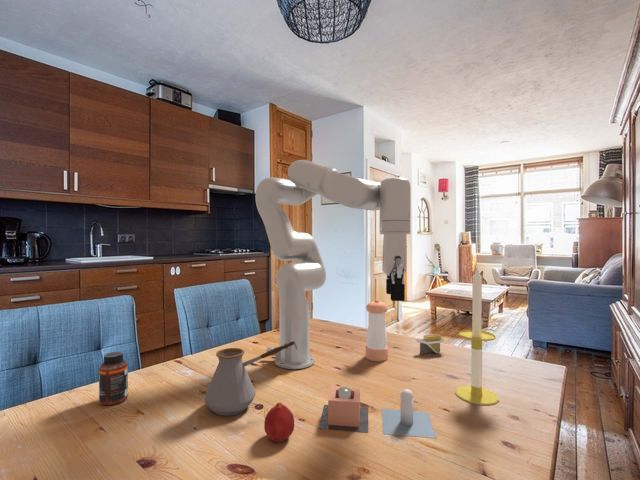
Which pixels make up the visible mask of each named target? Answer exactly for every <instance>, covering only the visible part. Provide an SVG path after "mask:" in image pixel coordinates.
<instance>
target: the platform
mask: <svg viewBox="0 0 640 480" xmlns="http://www.w3.org/2000/svg"><path fill="white" fill-rule="evenodd" d="M416 343H419V354H420V355H421V354H422V353H423V354H429V353H430V354H431V353H436V354H440V352H441V343H445V339H444V338H443V337H442V335H441V334H438V333H436V334H433V335H432V334H426V335H425V334H424V335H423V338H419V339H418V338H417V339H416ZM423 354H422V355H423Z"/></svg>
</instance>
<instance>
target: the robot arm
mask: <svg viewBox="0 0 640 480" xmlns="http://www.w3.org/2000/svg"><path fill="white" fill-rule="evenodd" d="M287 176H288V179H287V178H281V177H273V176H272V177H266V178H264V179H261V181H260V182H259V183H258V185H257V187H256V190H255V198H254V199H255V204H256V209H257V211H258V214H259V215H260V218H261V219H262V222H263V225H264V227H265V232H266V234H267V238H268V241H269V242H268V243H269V245H270V247H271V251H272V254H273V255H274V257H275V259H277V260H279V261H283V262H287V261H295V262H288V263H285V264H283V265H281V266H280V267H279V268H278V270H277V272H276V275H275V281H276V286H277V287H276V288H277V292H278V301H279V305H278V306H279V308H278V309H279V311H278V312H279V314H278V315H279V320H278V321H279V325H278V326H279V330H278V331H279V333H278V335H279V336H278V337H279V346H278V347H280V346H284V344H288V343H290V342H293V341H295V343H296V346H297V349H296V348H295V345H292V346H289V347H288V348H287V349H283V350H281V351H280V352H278V353H276V354H273V355H271V356H274V357H275V358H274V364H275V366H277V367H279V368H282V369H286V370H287V369H288V370H300V369H306V368H308V367H312V366H313V364H314V363H315V357H314V355H313V354H310V325H311V324H310V322H311V321H310V320H311V318H310V303H309V300H308V298H307V296H306V293H305V292H307V291H314V290H318V289H320V288H322V286H324V284H325V282H326V280H327V275H326V274H327V273H326V268H325V265H324V262H323V259H322V256H321V253H320V251H319V248H318V245H317V243H316V241H315V239H314V237H313V236H312V235H311V234H310V233H307V232H304V231H295V230H294V228H293V226H292V223H291V220H290V217H289V216H288V214H287V213H286V211H285V210H284V209H283V208H282V207H281V205H284V206H285V205H287V206H296V207H297V206H301V205H303V204H305V203H306V202H308V201H309V200H311V199H312V198H314V197H316V196H317V195H320V196H322V197H324V198H325V199H326V200H328V201H331V202H334V203H337V204H338V205H341V206H345V207H347V208H350V209H357V210H365V211H373V212H374V211H379V235H383V238H382V261H381V263H382V265H381V269H382V272H383V273H384V274H385V275H386V279H385V284H386V288H385V292H386V294H387V295H390V301H392V302H404V301H406V294H405V293H406V291H405V290H406V289H405V288H406V287H405V286H406V285H405V274H406V273H407V235H411V233H412V232H411V219H412V218H411V207H412V206H411V193H412V191H411V190H412V189H411V182H410V180H409V179H408V178H404V177H388V178H385V179H383V180H381V181H380V182H376V181H372V180H368V179H362V178H359V177H355V176H352V175H347V174H343V173H341V172H339V171H338V169H336V168H334V167H331V166H327V165H323V164H321V163H318V162H314V161H310V160H307V159H298V160H295V161H293V162H292V163H291V164H290V165H289V166H288V169H287ZM274 348H275V347H267V348H266V352H268V351H270V350H272V349H274ZM271 356H270V357H271Z"/></svg>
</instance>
